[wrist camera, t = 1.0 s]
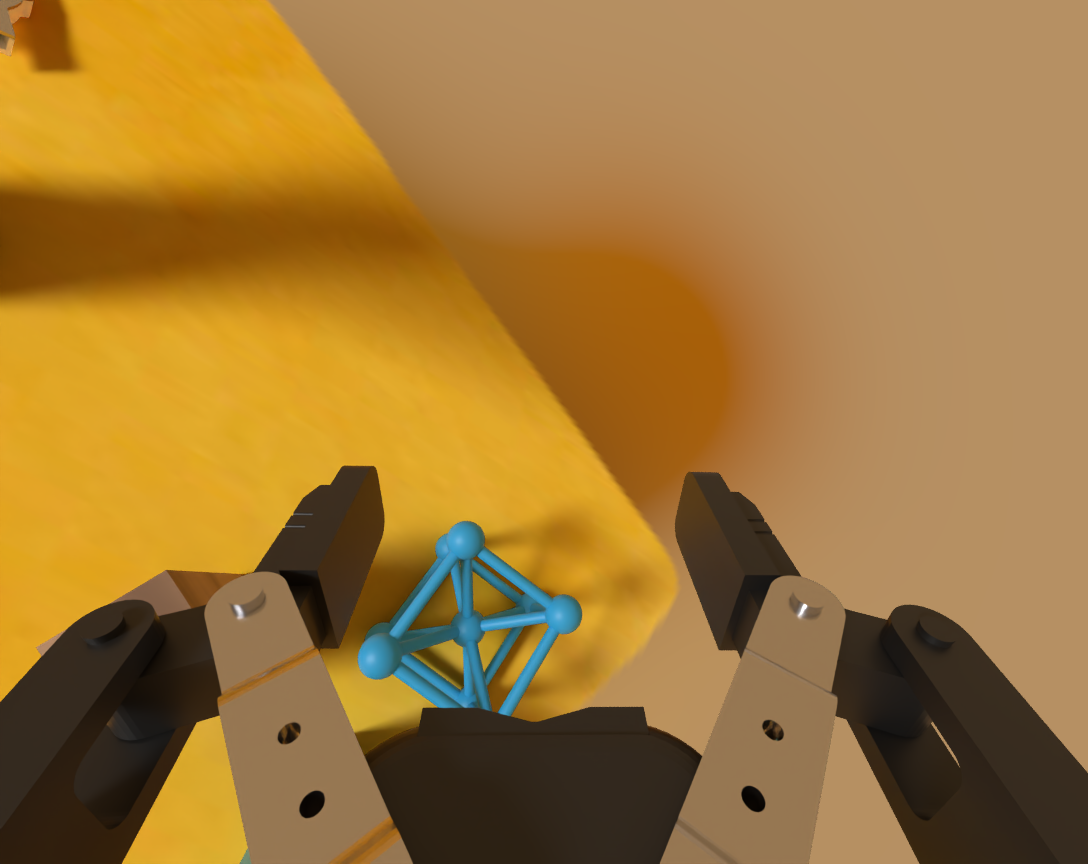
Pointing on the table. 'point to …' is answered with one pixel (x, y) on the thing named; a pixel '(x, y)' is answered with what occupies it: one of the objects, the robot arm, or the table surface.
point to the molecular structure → (466, 626)
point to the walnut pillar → (171, 593)
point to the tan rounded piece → (11, 21)
